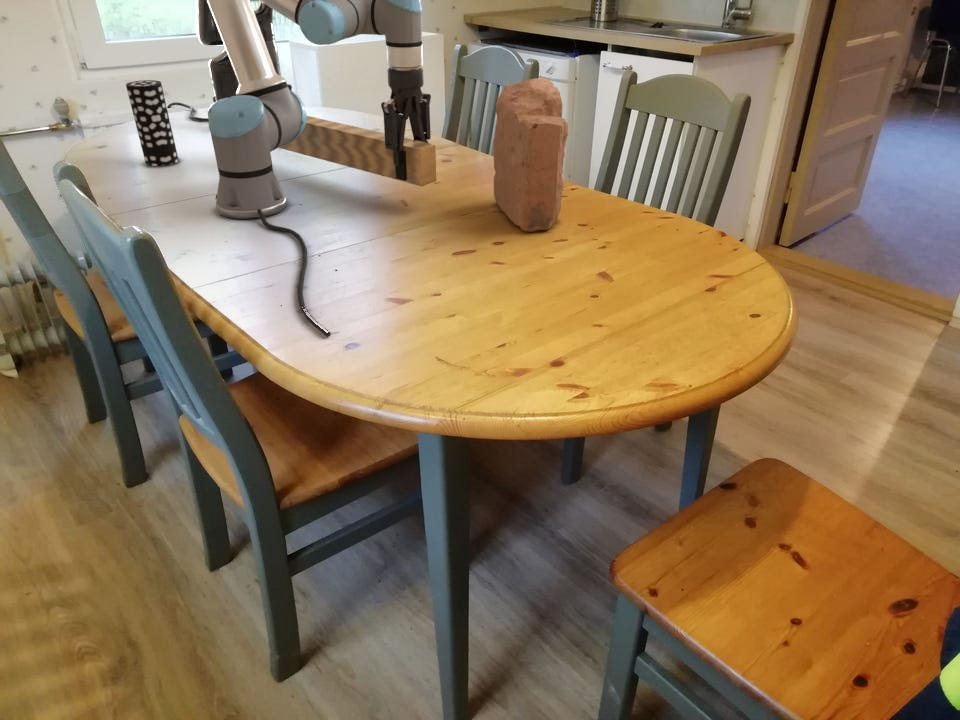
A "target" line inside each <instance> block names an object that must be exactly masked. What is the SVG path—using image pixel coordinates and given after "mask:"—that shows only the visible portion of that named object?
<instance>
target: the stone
mask: <svg viewBox="0 0 960 720" xmlns="http://www.w3.org/2000/svg"><path fill="white" fill-rule="evenodd" d="M554 85H555V84H554V83H553V81H551V80H550V79H549V78H546V77H539V78H538V77H537V78H530V79H526V80H522V81H521V82H517V83H509V84H507V85H506V86H504V88H503V89H502V90H501V92H500V94H499V96H498V97H497V100H496V102H495V114H496V124H495V130H494V138H493V169H494V172H495V173H494V175H493V197H494V200H495V204H496V205H497V206H498V207H499V209H500V210H501V211H502V212H503V213H504V214H505V215H506V217H508V219H509V220H510V221H511V222H512V223H513V224H514V225H515V226H517V227H519V228H520V230H522V231H523V232H537V231H546V230H549V229H551V227H552V226H554V224H555V223H557V221H558V218H559V214H560V213H561V209H562V198H563V192H564V191H563V190H564V181H563V172H564V171H563V170H564V169H563V167H564V159H565V155H566V154H565V148H566V144H567V140H568V139H567V138H568V135H569V123H568V122H567V120H566V119H565V118H563V116H562V115H563V101H562V97H561V92H560V90H559V88H558V87H557V86H554Z"/></svg>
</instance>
